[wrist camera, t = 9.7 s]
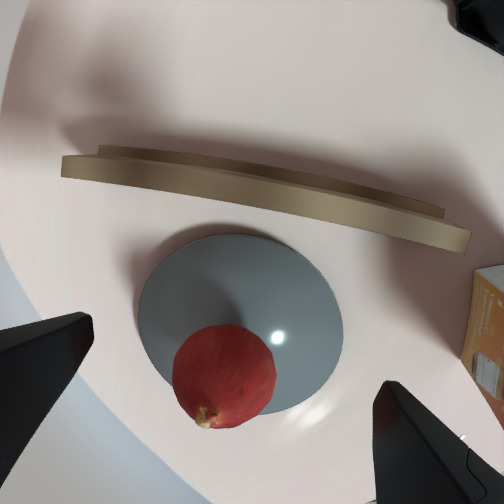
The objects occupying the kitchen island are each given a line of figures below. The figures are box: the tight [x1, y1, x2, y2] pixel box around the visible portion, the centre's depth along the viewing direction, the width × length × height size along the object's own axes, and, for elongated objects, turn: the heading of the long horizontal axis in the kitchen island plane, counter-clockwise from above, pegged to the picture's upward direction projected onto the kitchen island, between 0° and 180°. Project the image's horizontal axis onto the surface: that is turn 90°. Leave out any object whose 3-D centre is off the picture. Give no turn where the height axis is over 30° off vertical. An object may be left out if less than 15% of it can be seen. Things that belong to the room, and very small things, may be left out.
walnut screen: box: [61, 145, 472, 255], centre depth 16 cm, size 22×2×4 cm, turn 80°
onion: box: [172, 324, 277, 429], centre depth 16 cm, size 6×6×8 cm
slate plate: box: [138, 233, 343, 415], centre depth 21 cm, size 14×14×1 cm
